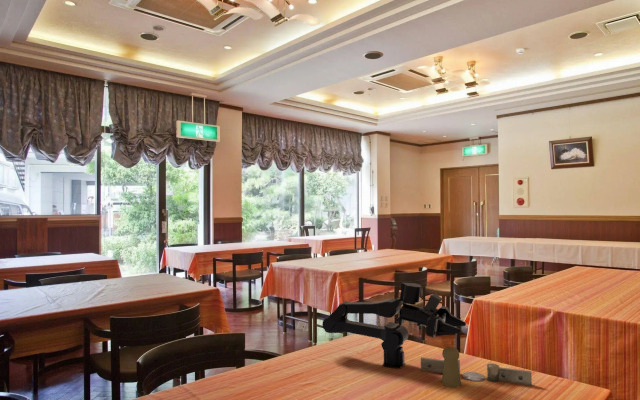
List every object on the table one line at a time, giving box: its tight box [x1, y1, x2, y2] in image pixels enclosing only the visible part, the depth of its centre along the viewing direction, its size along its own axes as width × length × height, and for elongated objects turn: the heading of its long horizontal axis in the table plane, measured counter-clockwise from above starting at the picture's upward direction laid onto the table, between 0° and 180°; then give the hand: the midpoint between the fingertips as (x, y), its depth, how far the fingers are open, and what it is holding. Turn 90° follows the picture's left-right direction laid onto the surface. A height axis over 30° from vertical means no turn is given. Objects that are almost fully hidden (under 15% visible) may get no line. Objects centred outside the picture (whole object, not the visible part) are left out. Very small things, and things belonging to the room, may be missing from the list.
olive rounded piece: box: [441, 347, 463, 389], centre depth 131 cm, size 6×6×11 cm
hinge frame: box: [420, 357, 533, 387], centre depth 136 cm, size 34×7×4 cm, turn 66°
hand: (463, 327), depth 136 cm, fingers open, 9 cm apart
